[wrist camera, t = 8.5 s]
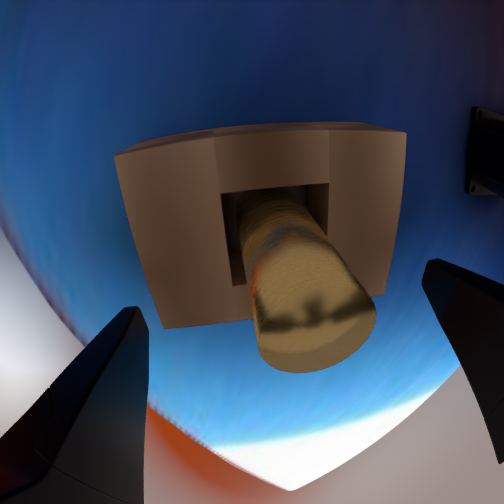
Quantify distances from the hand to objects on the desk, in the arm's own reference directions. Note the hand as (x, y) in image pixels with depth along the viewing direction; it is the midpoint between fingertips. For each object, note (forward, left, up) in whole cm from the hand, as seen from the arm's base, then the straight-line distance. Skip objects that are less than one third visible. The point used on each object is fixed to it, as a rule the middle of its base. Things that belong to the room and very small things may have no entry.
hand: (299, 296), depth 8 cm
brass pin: (0, 0, -6) cm, 7 cm away
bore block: (0, 0, -8) cm, 8 cm away
